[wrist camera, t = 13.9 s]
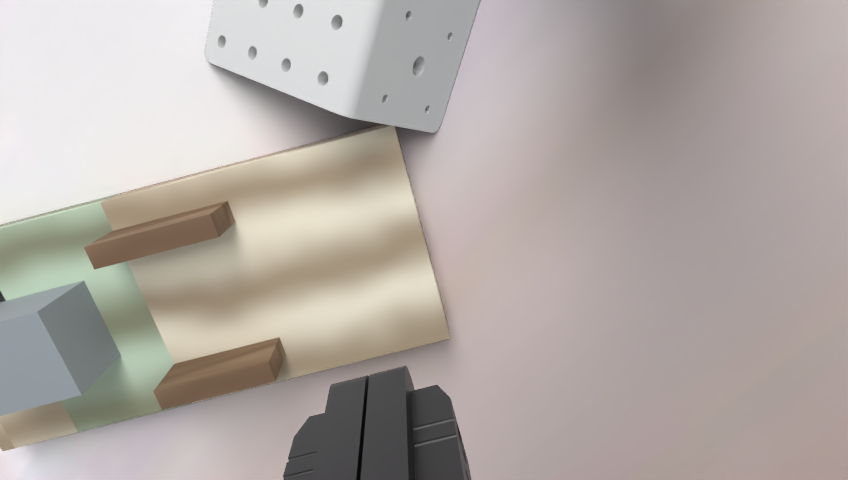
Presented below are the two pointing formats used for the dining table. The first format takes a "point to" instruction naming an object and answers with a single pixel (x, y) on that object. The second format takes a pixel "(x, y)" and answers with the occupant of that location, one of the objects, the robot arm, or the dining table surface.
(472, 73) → the dining table surface
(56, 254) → the tunnel deck
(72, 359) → the grey block
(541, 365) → the dining table surface
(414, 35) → the bracket
